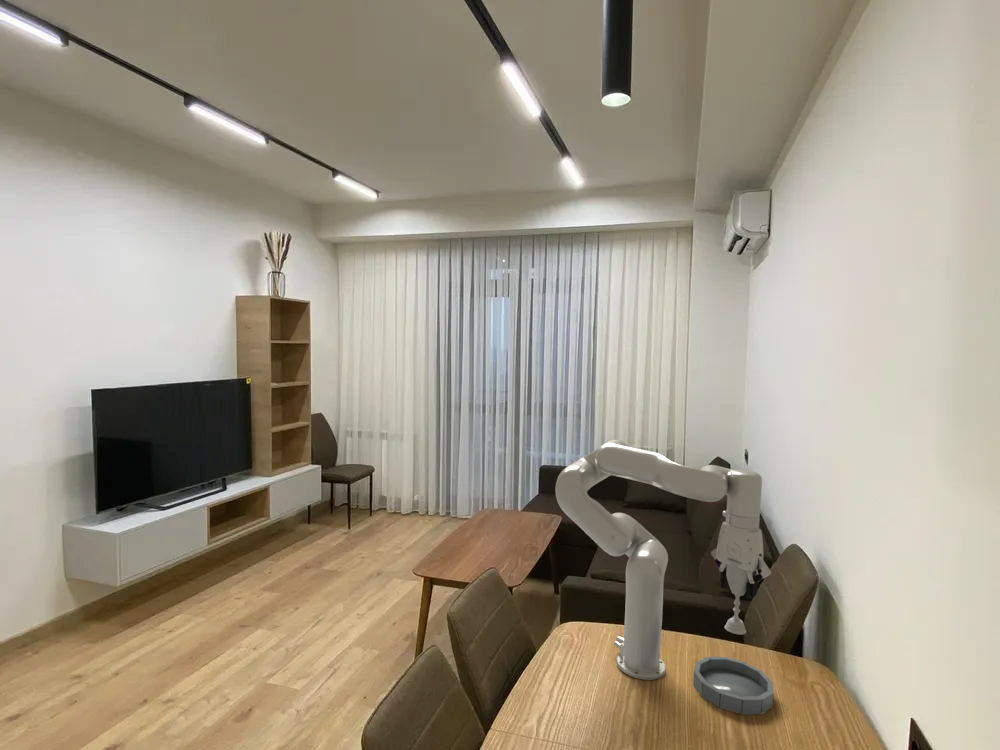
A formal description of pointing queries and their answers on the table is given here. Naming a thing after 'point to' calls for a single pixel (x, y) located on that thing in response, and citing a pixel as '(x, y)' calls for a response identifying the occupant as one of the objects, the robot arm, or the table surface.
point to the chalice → (736, 595)
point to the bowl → (733, 685)
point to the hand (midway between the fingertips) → (737, 591)
